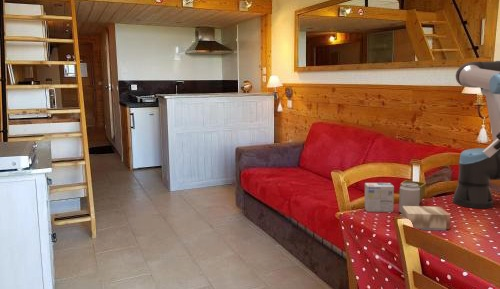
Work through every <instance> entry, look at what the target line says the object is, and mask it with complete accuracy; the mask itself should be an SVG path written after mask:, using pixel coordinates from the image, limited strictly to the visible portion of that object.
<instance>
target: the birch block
mask: <svg viewBox="0 0 500 289" xmlns="http://www.w3.org/2000/svg"><path fill="white" fill-rule="evenodd" d="M451 216H452V215H451V214H450V213H449V212H448V211H447V210H445V208H443V207H442V206H427V205H426V206H421V205H419V206H402V214H401V217H405V218H407V219H409V220H411V222H412V224H413V226H414V227H415V228H439V229H446V230H450V229H451Z"/></svg>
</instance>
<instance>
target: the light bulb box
mask: <svg viewBox="0 0 500 289" xmlns="http://www.w3.org/2000/svg"><path fill="white" fill-rule="evenodd" d="M394 193H395V186H394V185H393V184H392V183H391V182H364V209H365V210H366V212H367V213H368V212H370V213H393V212H394V204H395V203H394V196H395V194H394Z"/></svg>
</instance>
